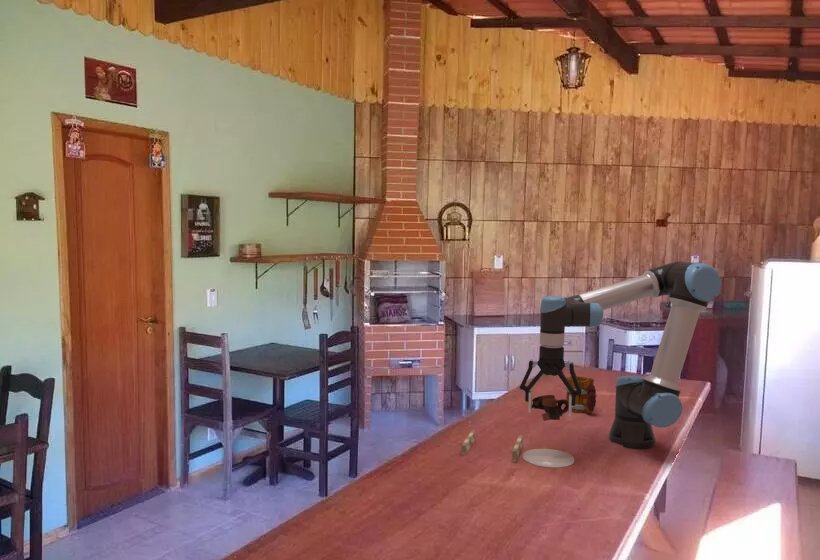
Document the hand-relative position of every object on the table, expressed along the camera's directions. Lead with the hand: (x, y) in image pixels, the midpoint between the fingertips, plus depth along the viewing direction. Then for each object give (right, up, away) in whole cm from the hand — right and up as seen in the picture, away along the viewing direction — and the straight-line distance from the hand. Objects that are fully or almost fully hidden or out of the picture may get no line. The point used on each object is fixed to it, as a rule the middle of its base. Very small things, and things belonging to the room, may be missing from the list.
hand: (549, 413), depth 199 cm
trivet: (0, -14, +1) cm, 14 cm away
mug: (+25, -11, +55) cm, 61 cm away
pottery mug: (+2, -3, 0) cm, 3 cm away
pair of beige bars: (-17, -14, +7) cm, 23 cm away
